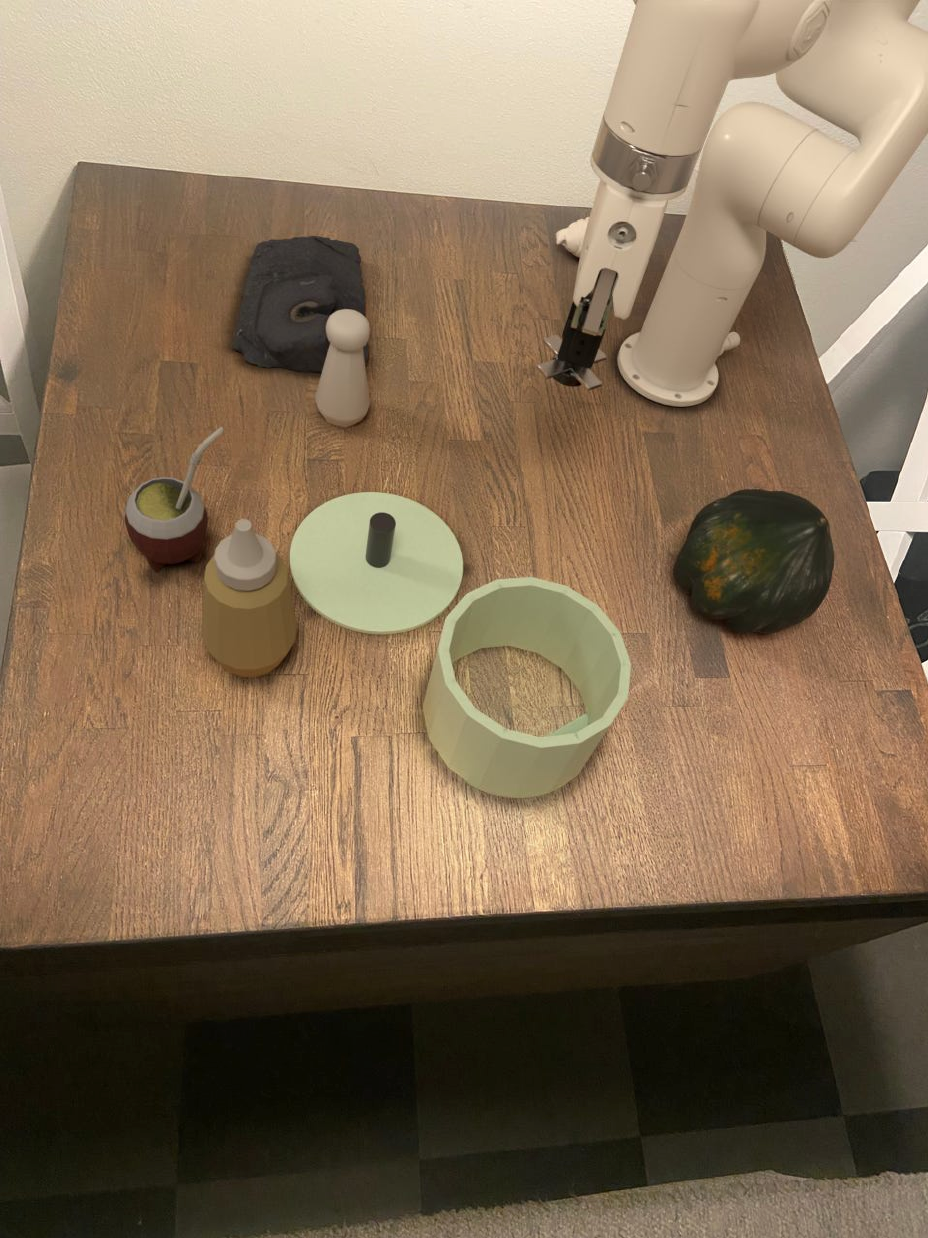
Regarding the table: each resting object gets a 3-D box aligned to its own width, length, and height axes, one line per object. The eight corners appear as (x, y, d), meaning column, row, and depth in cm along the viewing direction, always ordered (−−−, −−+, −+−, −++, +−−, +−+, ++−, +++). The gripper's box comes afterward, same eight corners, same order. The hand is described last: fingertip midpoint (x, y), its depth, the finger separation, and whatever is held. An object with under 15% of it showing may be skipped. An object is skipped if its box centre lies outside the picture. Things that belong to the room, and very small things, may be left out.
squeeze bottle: (257, 707, 79) (251, 588, 64) (184, 658, 81) (162, 530, 66) (314, 644, 84) (321, 519, 69) (244, 598, 85) (236, 466, 70)
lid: (404, 478, 96) (411, 433, 91) (494, 595, 90) (508, 554, 84) (258, 535, 89) (256, 489, 84) (345, 666, 83) (349, 626, 77)
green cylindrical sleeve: (528, 617, 89) (554, 551, 80) (629, 745, 83) (669, 690, 74) (390, 686, 82) (402, 623, 74) (488, 831, 76) (514, 781, 68)
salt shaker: (360, 441, 98) (369, 345, 87) (308, 427, 98) (311, 330, 87) (374, 404, 101) (384, 308, 91) (323, 391, 101) (328, 293, 91)
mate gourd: (118, 566, 85) (90, 454, 72) (164, 508, 89) (145, 393, 77) (190, 597, 84) (174, 489, 72) (233, 538, 88) (225, 427, 76)
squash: (643, 503, 92) (745, 503, 79) (758, 477, 98) (872, 474, 84) (659, 638, 95) (760, 661, 82) (771, 606, 101) (883, 623, 87)
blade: (575, 340, 87) (600, 267, 80) (620, 387, 84) (649, 316, 78) (516, 358, 84) (537, 284, 77) (560, 408, 81) (586, 335, 75)
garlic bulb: (548, 241, 124) (558, 204, 119) (590, 244, 125) (602, 208, 120) (554, 267, 121) (565, 230, 116) (598, 270, 122) (610, 233, 117)
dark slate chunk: (376, 260, 115) (379, 226, 111) (366, 381, 103) (369, 348, 99) (252, 242, 113) (251, 207, 109) (228, 364, 101) (225, 329, 97)
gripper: (688, 225, 62) (606, 422, 77) (699, 115, 72) (625, 310, 87) (582, 195, 62) (521, 398, 77) (608, 88, 71) (549, 288, 86)
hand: (576, 350), depth 82 cm, fingers closed on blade
